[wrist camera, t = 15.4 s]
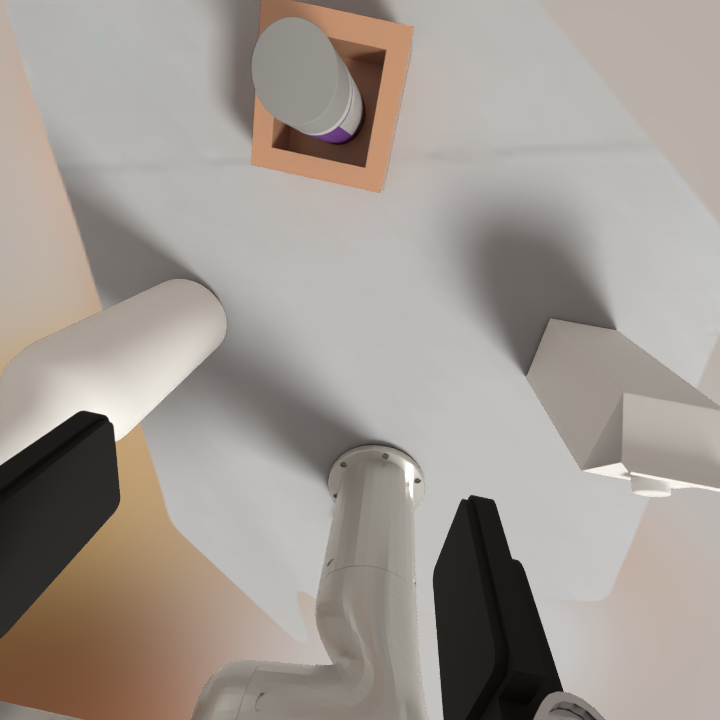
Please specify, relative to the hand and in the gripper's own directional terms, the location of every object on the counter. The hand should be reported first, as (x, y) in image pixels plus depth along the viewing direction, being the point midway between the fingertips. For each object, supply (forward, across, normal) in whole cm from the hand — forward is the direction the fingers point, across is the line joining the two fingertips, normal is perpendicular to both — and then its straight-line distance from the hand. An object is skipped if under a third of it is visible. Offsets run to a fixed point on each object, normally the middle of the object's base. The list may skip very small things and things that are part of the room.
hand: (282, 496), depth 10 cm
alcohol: (+32, +19, +9) cm, 38 cm away
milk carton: (+32, -22, +4) cm, 40 cm away
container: (+31, +5, -13) cm, 33 cm away
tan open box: (+31, +5, -13) cm, 34 cm away
